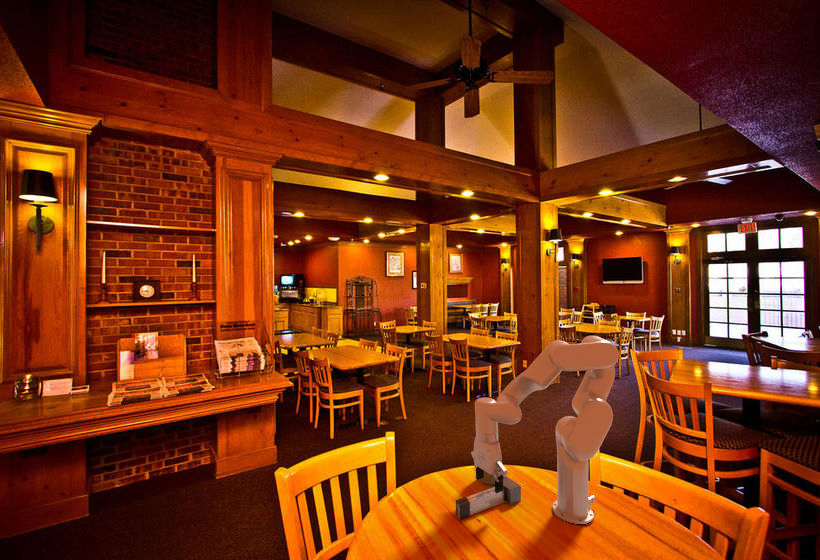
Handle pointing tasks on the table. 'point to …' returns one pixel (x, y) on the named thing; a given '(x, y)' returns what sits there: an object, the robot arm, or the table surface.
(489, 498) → the tong arm
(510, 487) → the tong base
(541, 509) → the table surface
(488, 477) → the squeeze bottle
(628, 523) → the table surface
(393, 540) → the table surface
